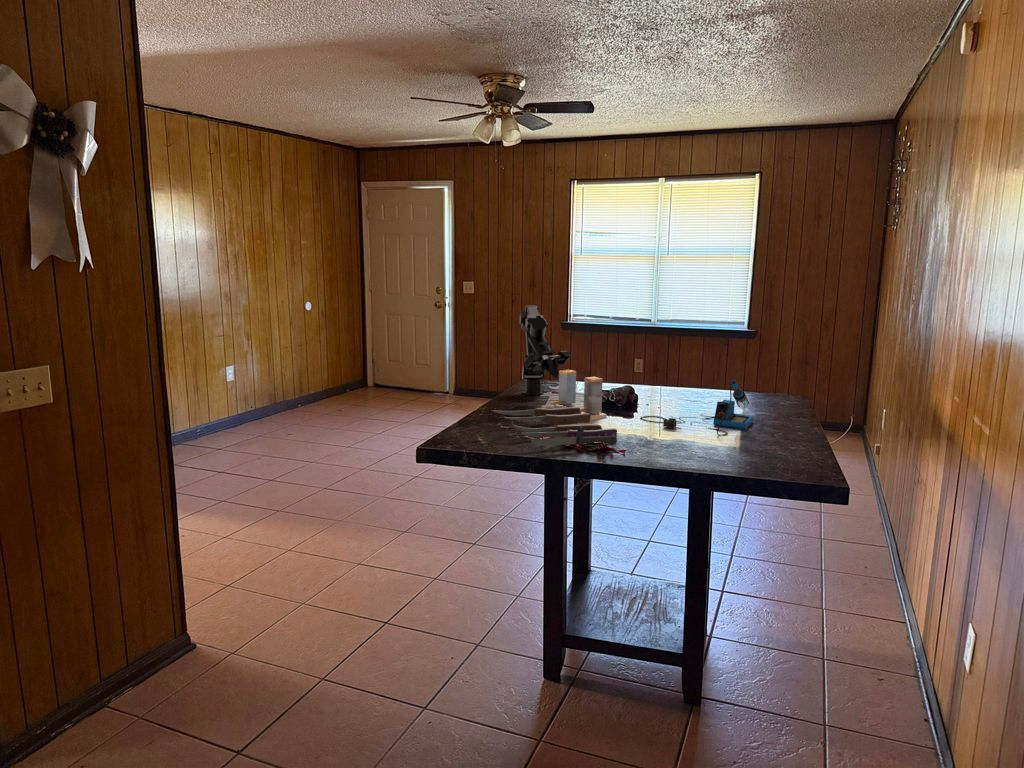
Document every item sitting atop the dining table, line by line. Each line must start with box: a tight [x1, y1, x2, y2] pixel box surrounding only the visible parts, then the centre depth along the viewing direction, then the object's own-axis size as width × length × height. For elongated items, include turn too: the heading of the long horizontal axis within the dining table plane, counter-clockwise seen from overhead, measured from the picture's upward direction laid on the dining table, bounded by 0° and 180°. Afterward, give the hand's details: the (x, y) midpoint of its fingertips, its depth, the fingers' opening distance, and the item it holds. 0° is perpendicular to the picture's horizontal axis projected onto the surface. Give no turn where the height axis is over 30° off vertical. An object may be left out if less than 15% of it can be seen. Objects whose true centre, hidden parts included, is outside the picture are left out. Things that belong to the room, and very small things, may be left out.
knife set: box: [490, 407, 618, 447], centre depth 219 cm, size 35×33×8 cm
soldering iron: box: [640, 379, 754, 436], centre depth 238 cm, size 35×31×18 cm
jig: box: [540, 376, 607, 421], centre depth 249 cm, size 23×11×14 cm, turn 35°
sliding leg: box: [549, 369, 577, 406], centre depth 253 cm, size 4×10×12 cm, turn 125°
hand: (557, 377), depth 259 cm, fingers closed
